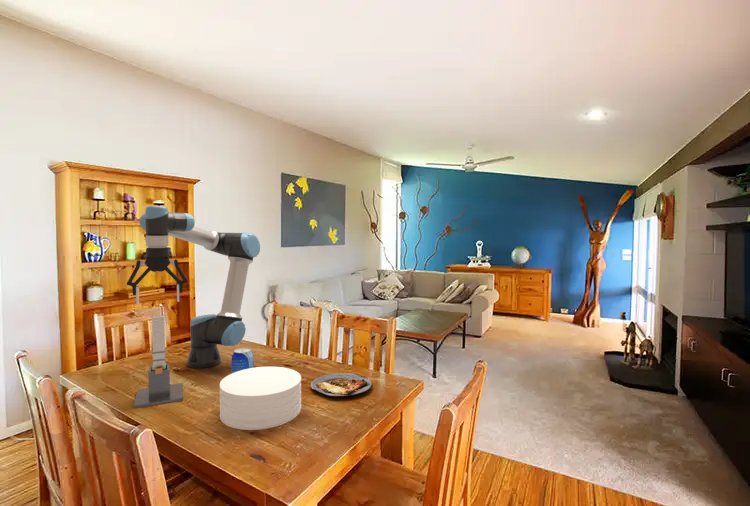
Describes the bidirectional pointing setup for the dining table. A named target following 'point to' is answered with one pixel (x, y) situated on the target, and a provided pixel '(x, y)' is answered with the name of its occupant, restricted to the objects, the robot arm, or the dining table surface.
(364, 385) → the food plate
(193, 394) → the dining table surface
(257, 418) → the plate stack
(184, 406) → the dining table surface
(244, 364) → the beer can
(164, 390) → the stand
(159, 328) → the column
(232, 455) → the dining table surface
